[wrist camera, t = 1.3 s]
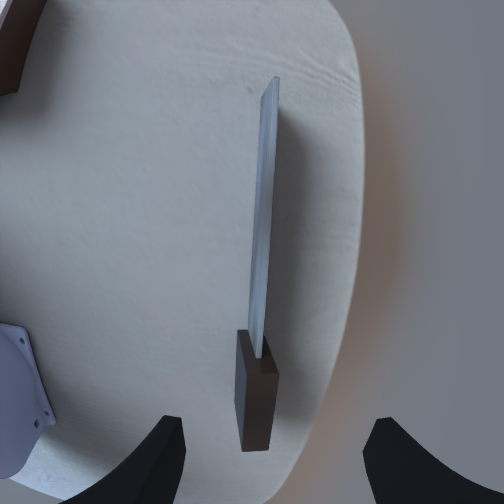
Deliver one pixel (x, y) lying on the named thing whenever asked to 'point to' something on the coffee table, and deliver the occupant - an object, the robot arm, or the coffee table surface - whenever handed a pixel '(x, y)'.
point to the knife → (259, 298)
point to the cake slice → (16, 39)
